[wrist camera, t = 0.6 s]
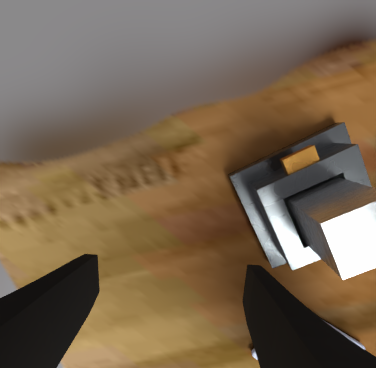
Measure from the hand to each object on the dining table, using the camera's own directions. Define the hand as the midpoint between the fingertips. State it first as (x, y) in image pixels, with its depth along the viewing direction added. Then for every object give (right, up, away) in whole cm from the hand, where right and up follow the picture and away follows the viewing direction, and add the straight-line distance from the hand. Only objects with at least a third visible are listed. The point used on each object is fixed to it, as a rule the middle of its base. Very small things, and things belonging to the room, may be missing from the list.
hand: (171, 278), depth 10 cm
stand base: (+11, +3, +9) cm, 15 cm away
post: (+11, +3, +8) cm, 14 cm away
